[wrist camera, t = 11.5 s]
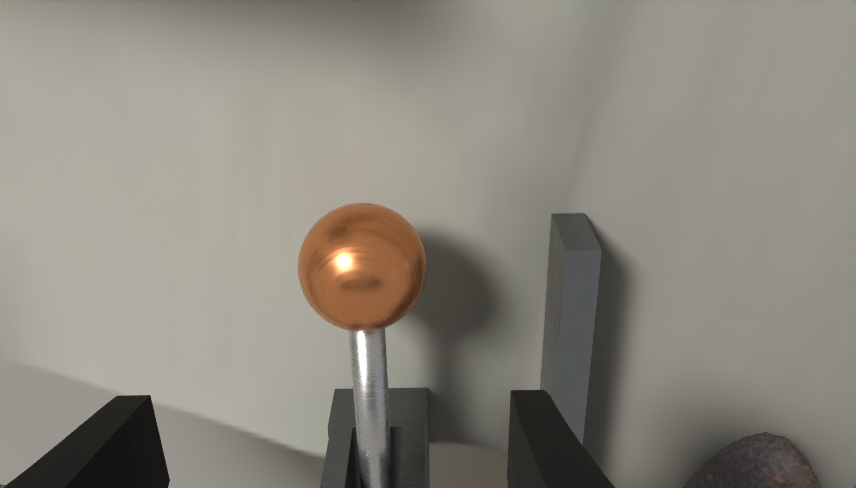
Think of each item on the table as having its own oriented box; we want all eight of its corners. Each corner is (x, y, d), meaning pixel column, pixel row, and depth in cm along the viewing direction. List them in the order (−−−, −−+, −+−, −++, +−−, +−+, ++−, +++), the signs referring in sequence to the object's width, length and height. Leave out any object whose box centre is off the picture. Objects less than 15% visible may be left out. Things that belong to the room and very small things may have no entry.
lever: (426, 183, 20) (425, 235, 17) (433, 587, 27) (434, 676, 24) (302, 184, 20) (280, 238, 17) (342, 588, 27) (332, 677, 24)
